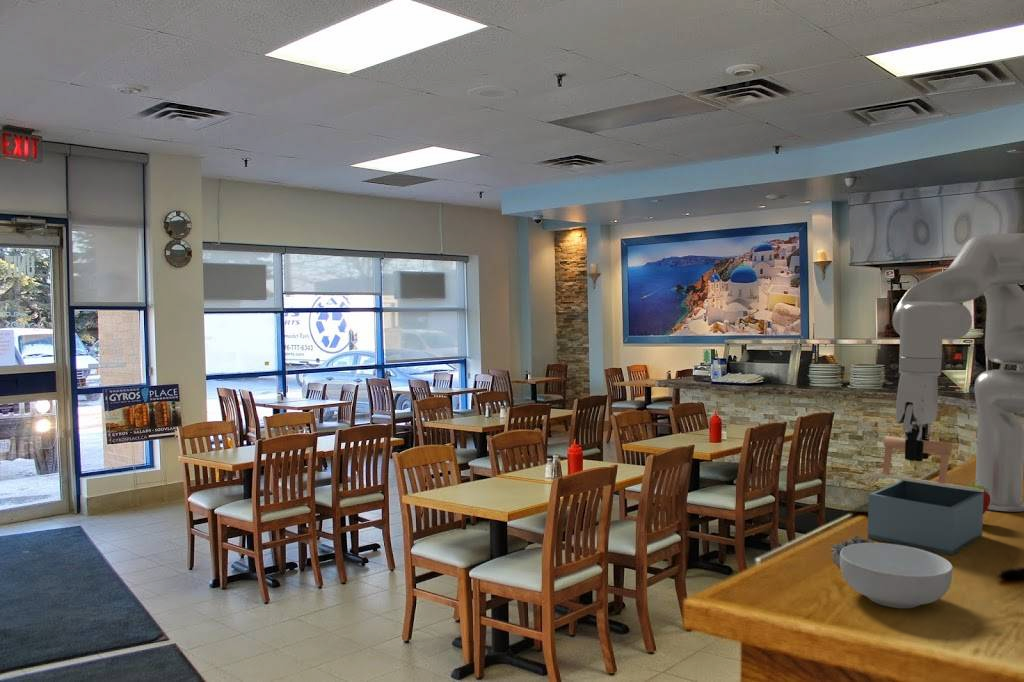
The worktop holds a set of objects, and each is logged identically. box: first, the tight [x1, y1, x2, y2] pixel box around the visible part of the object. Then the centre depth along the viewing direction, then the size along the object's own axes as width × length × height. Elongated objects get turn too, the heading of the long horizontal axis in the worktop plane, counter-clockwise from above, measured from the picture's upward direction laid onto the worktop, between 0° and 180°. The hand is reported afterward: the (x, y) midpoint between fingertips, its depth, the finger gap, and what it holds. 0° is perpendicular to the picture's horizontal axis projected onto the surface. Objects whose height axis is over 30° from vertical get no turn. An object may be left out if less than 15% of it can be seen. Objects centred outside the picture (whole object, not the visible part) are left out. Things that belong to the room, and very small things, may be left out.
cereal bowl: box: [839, 542, 954, 609], centre depth 140 cm, size 17×17×7 cm
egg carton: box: [830, 535, 876, 567], centre depth 159 cm, size 11×8×4 cm
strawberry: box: [961, 479, 990, 515], centre depth 184 cm, size 6×8×10 cm
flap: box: [869, 435, 984, 492], centre depth 175 cm, size 18×16×8 cm
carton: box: [867, 480, 984, 556], centre depth 175 cm, size 18×16×9 cm
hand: (916, 458), depth 170 cm, fingers closed on flap, 2 cm apart
